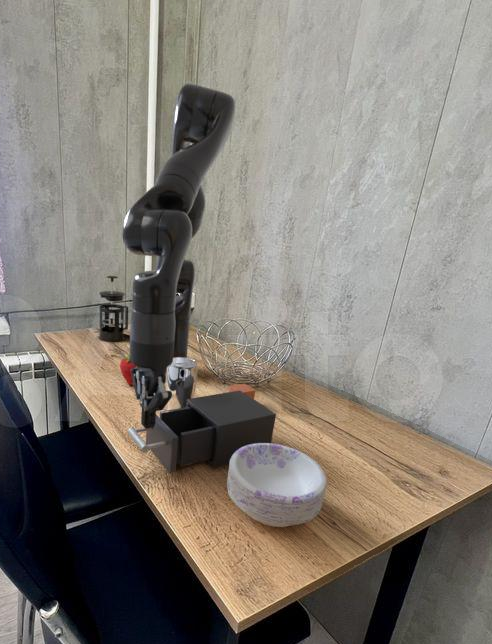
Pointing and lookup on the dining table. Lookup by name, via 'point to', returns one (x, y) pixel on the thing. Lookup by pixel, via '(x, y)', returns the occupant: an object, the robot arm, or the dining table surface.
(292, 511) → the paper bowls
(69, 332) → the dining table surface
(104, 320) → the french press
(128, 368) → the strawberry
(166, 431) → the drawer
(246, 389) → the block
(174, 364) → the beer glass
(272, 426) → the cabinet
